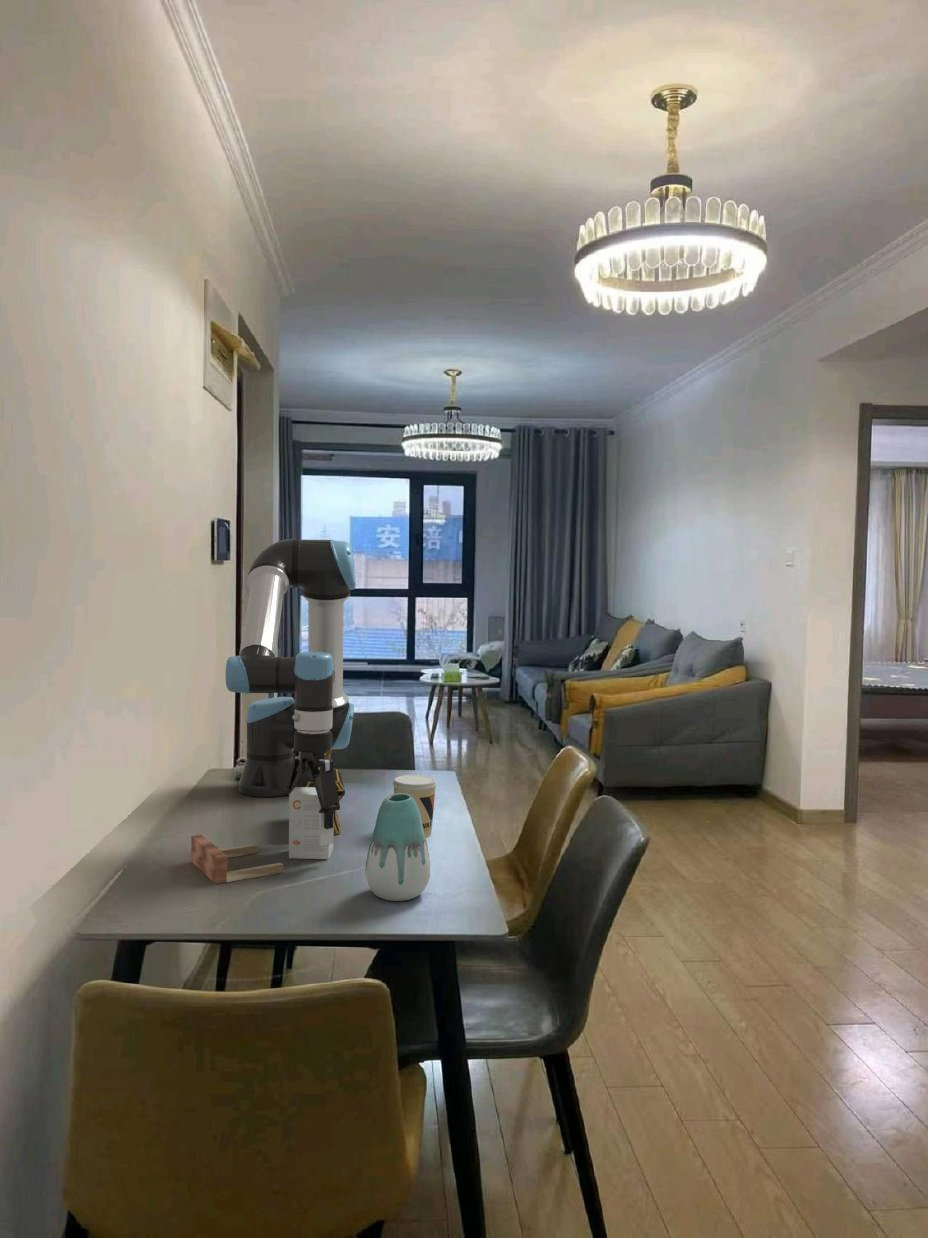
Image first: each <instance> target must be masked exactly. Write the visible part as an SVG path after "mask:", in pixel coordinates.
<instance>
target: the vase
mask: <svg viewBox="0 0 928 1238" xmlns="http://www.w3.org/2000/svg"><path fill="white" fill-rule="evenodd" d="M365 858H366V859H365V869H364V871H365V872H364V873H365V874H364V875H365V880H366V884H367V885H368V888H369V889H370V890H371V892H372V893H373V894H374V895H375V896H377V898H380V899H383V900H385V901H390V902H404V901H409V900H412V899H415V898H417V897H418V896H420V895H421V894H422V893H423V892H424V891H425V889H426V888H427V885H429V884H428V883H429V881H430V878H431V859H430V858H431V857H430V853H429V847H428V841H427V838H426V837H425V834H424V830H423V825H422V820H421V815H420V812H419V808H418V806H417V804H416V802H415V800H414V799H413V797H412V796H411V795H410V794H407V793H396V794H394V793H392V794H389V795H388V796H386V797H385V798H384V799H383V800H382V803H381V804H380V807H379V809H378V814H377V817H376V820H375V825H374V829H373V832H372V835H371V839H370V844H369V847H368V850H367V853H366V857H365Z"/></svg>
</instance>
